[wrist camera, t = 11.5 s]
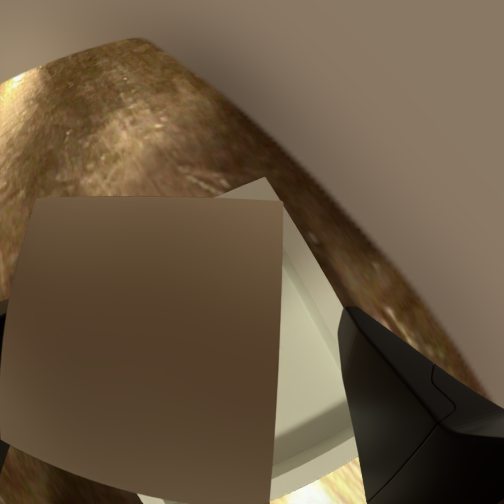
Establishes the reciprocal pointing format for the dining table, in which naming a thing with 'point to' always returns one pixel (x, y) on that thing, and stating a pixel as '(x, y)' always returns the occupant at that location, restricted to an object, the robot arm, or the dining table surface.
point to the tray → (303, 367)
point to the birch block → (148, 344)
